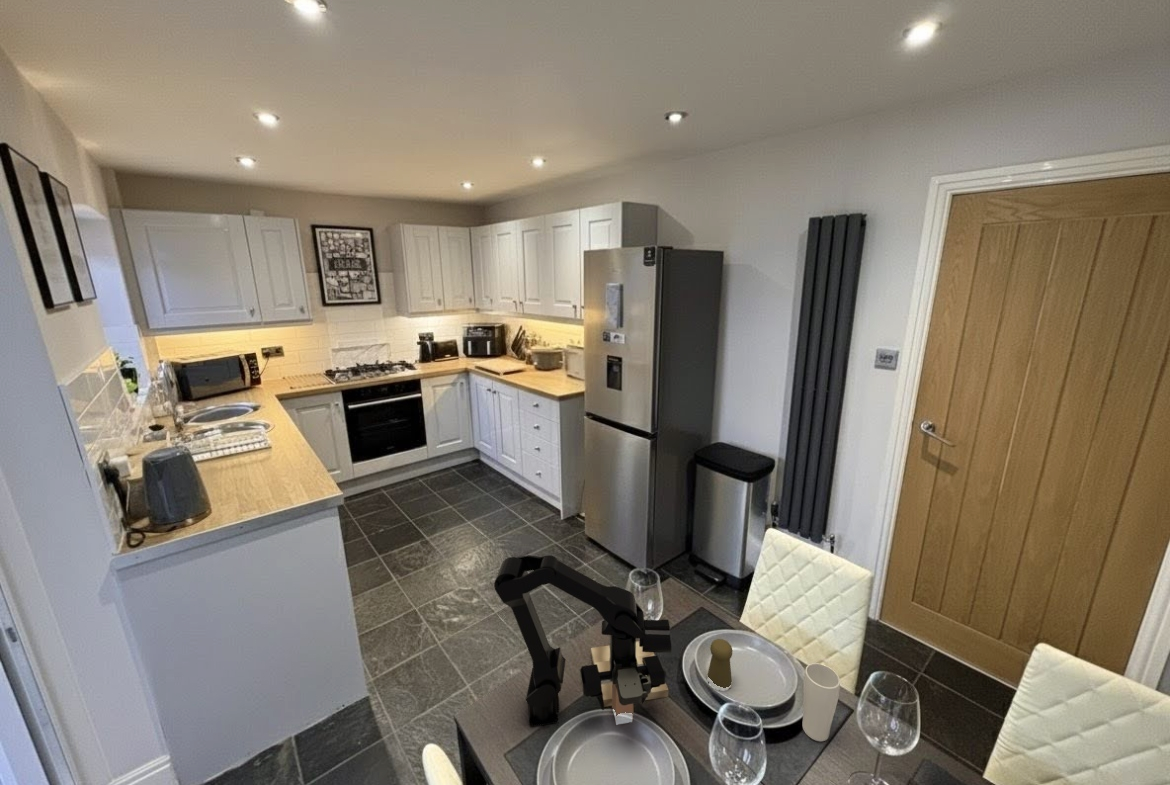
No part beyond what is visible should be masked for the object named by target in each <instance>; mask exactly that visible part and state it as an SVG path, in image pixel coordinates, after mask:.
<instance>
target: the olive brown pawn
mask: <svg viewBox="0 0 1170 785" xmlns="http://www.w3.org/2000/svg"><path fill="white" fill-rule="evenodd" d="M709 648H710V654H711V659H710V663H709V667H708V670H707V675H708V677H709V678H710V679H711V680H712V681H713V683H714V684H716V685H717V686H720V687H723V688H726V687H729V686H730V685H731V682H732V683H733V681H732V680H733V679H732V669H731V668H732V667H731V658H732V657H733V648H732V645H731V644H730V642H729V641H728V640H726V639H724V638H715V639H713V641H712V642H711V644H710V647H709Z"/></svg>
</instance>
